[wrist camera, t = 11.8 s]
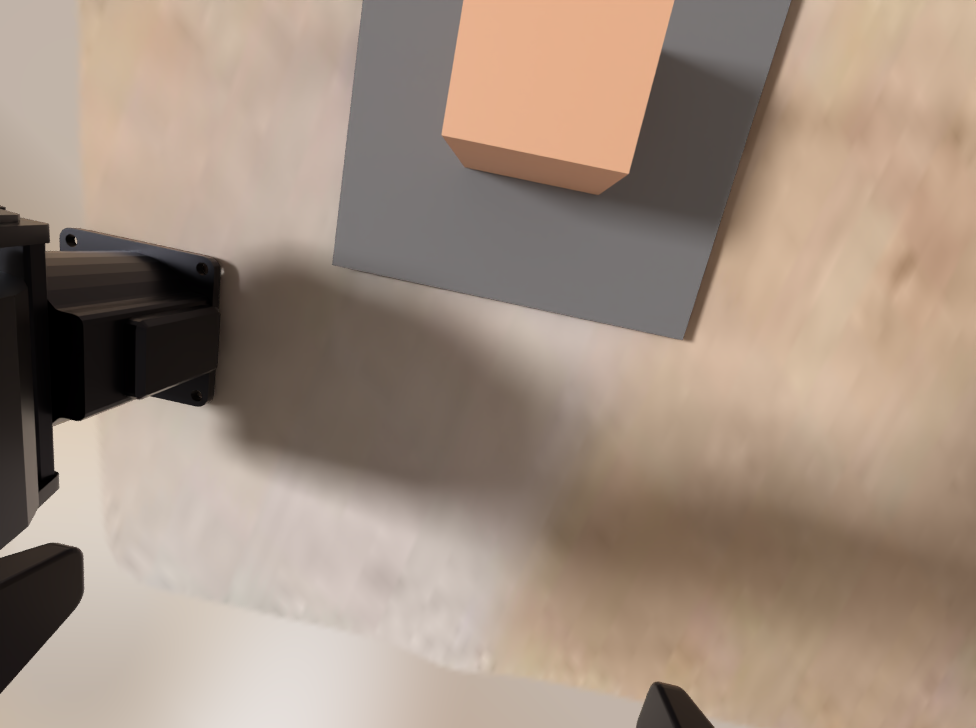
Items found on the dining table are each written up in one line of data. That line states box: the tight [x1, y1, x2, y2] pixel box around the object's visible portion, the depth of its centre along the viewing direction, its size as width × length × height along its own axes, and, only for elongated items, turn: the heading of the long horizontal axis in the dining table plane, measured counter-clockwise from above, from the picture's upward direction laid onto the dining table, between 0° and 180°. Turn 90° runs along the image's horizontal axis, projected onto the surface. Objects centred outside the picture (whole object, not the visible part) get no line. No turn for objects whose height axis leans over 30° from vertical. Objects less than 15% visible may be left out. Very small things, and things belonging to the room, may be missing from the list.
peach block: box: [442, 0, 674, 195], centre depth 14 cm, size 5×5×5 cm
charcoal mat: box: [332, 0, 791, 340], centre depth 17 cm, size 14×14×1 cm
